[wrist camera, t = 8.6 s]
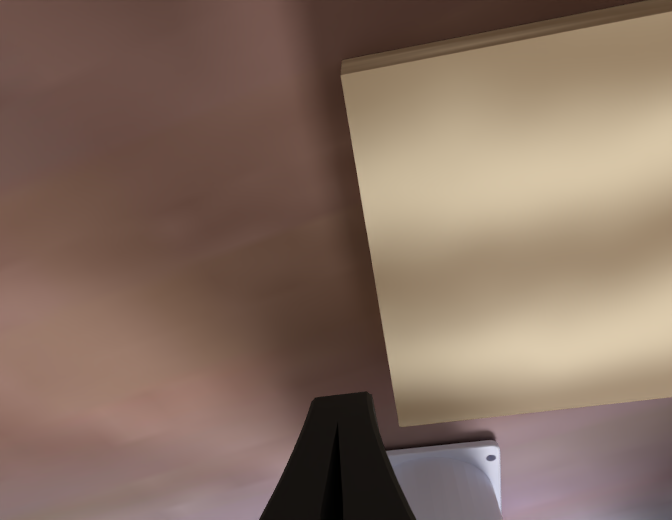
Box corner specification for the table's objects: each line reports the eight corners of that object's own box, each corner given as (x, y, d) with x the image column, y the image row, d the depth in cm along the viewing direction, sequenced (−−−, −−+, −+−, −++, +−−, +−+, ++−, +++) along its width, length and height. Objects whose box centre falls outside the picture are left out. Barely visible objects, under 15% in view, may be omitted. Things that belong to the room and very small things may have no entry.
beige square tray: (693, 324, 21) (761, 387, 18) (391, 362, 23) (399, 427, 19) (772, -25, 15) (903, -34, 11) (341, 60, 16) (340, 75, 13)
